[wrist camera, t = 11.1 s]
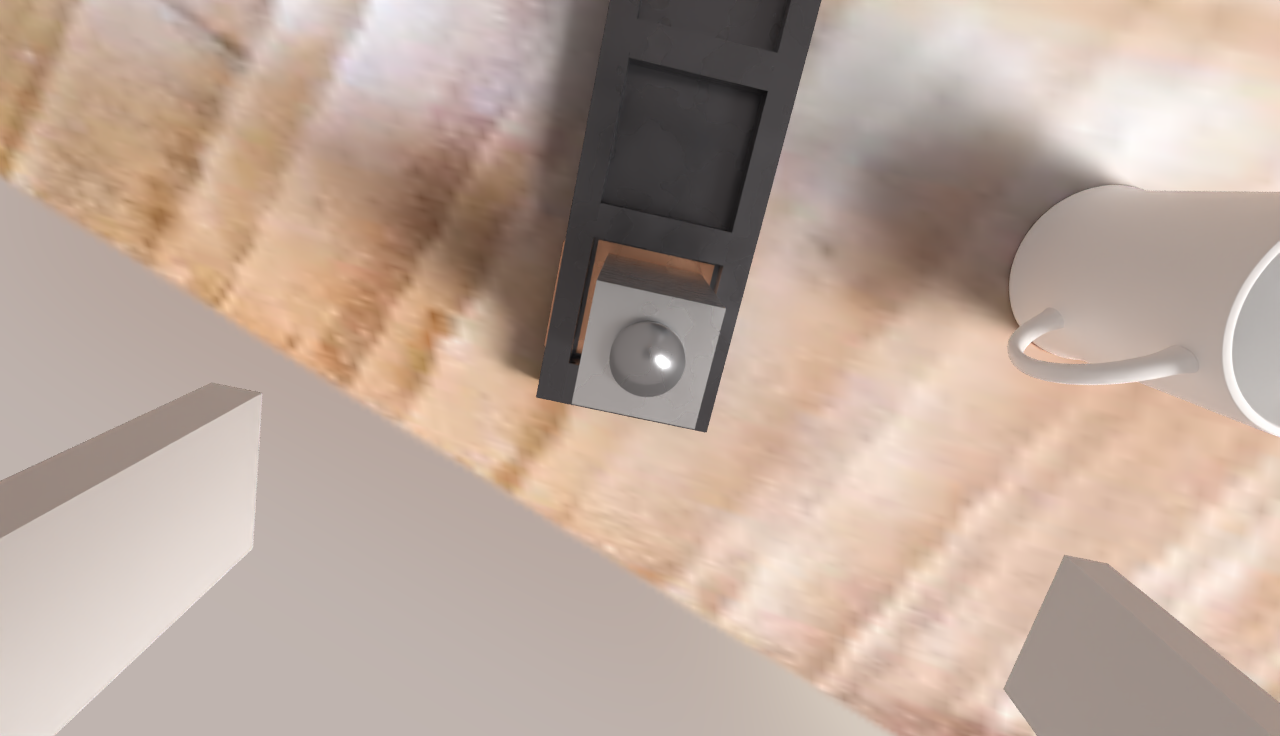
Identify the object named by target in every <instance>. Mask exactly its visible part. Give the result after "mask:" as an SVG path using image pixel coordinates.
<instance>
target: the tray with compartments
mask: <svg viewBox="0 0 1280 736" xmlns="http://www.w3.org/2000/svg"><path fill="white" fill-rule="evenodd" d="M820 3H821V0H610V3H609V9H608V14H607V19H606V25H605V30H604V35H603V41H602V46H601V52H600V57H599V62H598V68H597V73H596V78H595V84H594V89H593V95H592V100H591V105H590V111H589V116H588V121H587V127H586V132H585V137H584V143H583V148H582V154H581V159H580V164H579V170H578V175H577V180H576V186H575V191H574V197H573V202H572V207H571V213H570V218H569V223H568V229H567V234H566V239H565V240H564V241H563V246H562V252H561V257H560V262H559V268H558V273H557V279H556V284H555V289H554V295H553V300H552V306H551V311H550V316H549V322H548V327H547V333H546V338H545V343H544V346H546V347H545V352H544V358H543V363H542V368H541V374H540V379H539V385H538V390H537V395H536V397H537V398H542V399H546V400H551V401H556V402H561V403H566V404H571V405H575V404H572V399H573V394H574V389H575V385H576V380H577V375H578V370H579V365H580V360H581V355H582V350H583V345H584V340H585V335H586V330H587V325H588V321H589V316H590V311H591V306H592V301H593V296H594V291H595V286H596V281H597V278H598V276H599V274H600V271H601V269H602V267H603V265H604V262H605V260H606V258H607V255H608V253H609V254H614V255H618V256H623V257H627V258H632V259H636V260H641V261H645V262H650V263H654V264H659V265H663V266H668V267H672V268H676V269H681V270H685V271H690V272H694V273H699V274H701V275H702V276H703V277H704V279H705V280H706V282H707V283H708V284H709V286H710V287H711V288H712V290H713V291H714V293H715V294H716V295H717V297H718V298H719V300H720V301H721V302H722V304H723V305H724V307H725V308H726V311H725V314H724V318H723V322H722V326H721V330H720V334H719V337H718V341H717V345H716V349H715V353H714V357H713V360H712V364H711V368H710V372H709V376H708V380H707V383H706V387H705V391H704V395H703V399H702V403H701V406H700V410H699V414H698V418H697V422H696V426H695V429H692V430H697V431H701V432H707V428H708V425H709V421H710V417H711V413H712V410H713V406H714V402H715V398H716V395H717V391H718V387H719V383H720V380H721V376H722V372H723V368H724V365H725V361H726V357H727V353H728V349H729V346H730V342H731V338H732V334H733V331H734V327H735V323H736V319H737V316H738V312H739V308H740V304H741V301H742V297H743V293H744V289H745V286H746V282H747V278H748V274H749V270H750V267H751V263H752V259H753V255H754V252H755V248H756V244H757V240H758V237H759V233H760V229H761V225H762V222H763V218H764V214H765V210H766V207H767V203H768V199H769V195H770V192H771V188H772V184H773V180H774V176H775V173H776V169H777V165H778V161H779V158H780V154H781V150H782V146H783V143H784V139H785V135H786V131H787V128H788V124H789V120H790V116H791V113H792V109H793V105H794V101H795V97H796V94H797V90H798V86H799V82H800V79H801V75H802V71H803V67H804V64H805V60H806V56H807V52H808V49H809V45H810V41H811V37H812V34H813V30H814V26H815V22H816V18H817V15H818V11H819V7H820ZM576 406H580V405H576ZM580 407H585V406H580ZM585 408H589V407H585ZM590 409H594V408H590ZM595 410H599V409H595ZM600 411H604V410H600ZM605 412H609V411H605ZM609 413H614V412H609ZM614 414H618V413H614ZM619 415H623V414H619ZM624 416H628V415H624ZM629 417H633V416H629ZM634 418H638V417H634ZM638 419H643V418H638ZM643 420H647V419H643ZM648 421H652V420H648ZM653 422H657V421H653ZM658 423H662V422H658ZM663 424H667V423H663ZM668 425H672V424H668ZM672 426H676V425H672ZM677 427H681V426H677ZM682 428H686V427H682ZM687 429H691V428H687Z"/></svg>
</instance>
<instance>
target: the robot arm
mask: <svg viewBox="0 0 1280 736" xmlns="http://www.w3.org/2000/svg"><path fill="white" fill-rule="evenodd" d="M261 409H262V393H260V392H256V391H251V390H246V389H241V388H235V387H230V386H226V385H220V384H216V383H210V384H208V385H206V386H203V387H201V388H199V389H197V390H195V391H193V392H191V393H188V394H186V395H184V396H182V397H180V398H178V399H175V400H173V401H172V402H169V403H167V404H165V405H163V406H160V407H158V408H156V409H154V410H152V411H150V412H148V413H145V414H143V415H141V416H139V417H137V418H135V419H133V420H131V421H128V422H126V423H124V424H122V425H120V426H117V427H115V428H113V429H111V430H109V431H107V432H105V433H102V434H100V435H98V436H96V437H94V438H92V439H90V440H87V441H85V442H83V443H81V444H79V445H77V446H75V447H72V448H70V449H68V450H66V451H64V452H61V453H59V454H57V455H55V456H53V457H51V458H49V459H47V460H44V461H42V462H40V463H38V464H36V465H34V466H31V467H29V468H27V469H25V470H23V471H21V472H18V473H16V474H14V475H12V476H10V477H8V478H6V479H3V480H1V481H0V736H54V735H55V734H56V733H58V732H59V731H60V730H61V729H62V728H63V727H64V726H65V725H66V724H67V723H68V722H69V721H70V720H71V719H72V718H73V717H74V716H76V714H78V713H79V712H80V711H81V710H82V709H83V708H84V707H85V706H86V705H87V704H88V703H89V702H90V701H91V700H93V699H94V698H95V697H96V696H97V695H98V694H99V693H100V692H101V691H102V690H103V689H104V688H105V687H106V686H107V685H108V684H109V683H110V682H112V680H114V679H115V678H116V677H117V676H118V675H119V674H120V673H121V672H122V671H123V670H124V669H125V668H126V667H127V666H128V665H130V664H131V663H132V662H133V661H134V660H135V659H136V658H137V657H138V656H139V655H140V654H141V653H142V652H143V651H144V650H146V649H147V647H149V646H150V645H151V644H152V643H153V642H154V641H155V640H156V639H157V638H158V637H159V636H160V635H161V634H162V633H164V632H165V631H166V630H167V629H168V628H169V627H170V626H171V625H172V624H173V623H174V622H175V621H176V620H177V619H178V618H179V617H181V615H183V614H184V613H185V612H186V611H187V610H188V609H189V608H190V607H191V606H192V605H193V604H194V603H195V602H196V601H197V600H198V599H199V598H201V597H202V596H203V595H204V594H205V593H206V592H207V591H208V590H209V589H210V588H211V587H212V586H213V585H214V584H215V583H216V582H218V581H219V580H220V579H221V578H222V577H223V576H224V575H225V574H226V573H227V572H228V571H229V570H230V569H231V568H232V567H233V566H234V565H236V563H238V562H239V561H240V560H241V559H242V558H243V557H244V556H245V555H246V554H247V553H248V552H249V551H250V550H252V549H253V537H254V521H255V505H256V489H257V473H258V457H259V441H260V426H261ZM1004 690H1005V692H1006V693H1007V695H1008V696H1009V697H1010V699H1011V700H1012V701H1013V703H1014V704H1015V706H1016V707H1017V708H1018V710H1019V711H1020V713H1021V714H1022V715H1023V717H1024V718H1025V719H1026V721H1027V722H1028V724H1029V725H1030V726H1031V728H1032V729H1033V731H1034V732H1035V733H1036V735H1037V736H1280V703H1279V702H1278V701H1277V700H1275V699H1274V698H1273V697H1272V696H1270V695H1269V694H1268V693H1267V692H1266V691H1264V690H1263V689H1262V688H1261V687H1259V686H1258V685H1257V684H1256V683H1254V682H1253V681H1252V680H1251V679H1249V678H1248V677H1247V676H1246V675H1245V674H1243V673H1242V672H1241V671H1240V670H1238V669H1237V668H1236V667H1235V666H1233V665H1232V664H1231V663H1230V662H1229V661H1227V660H1226V659H1225V658H1224V657H1222V656H1221V655H1220V654H1219V653H1217V652H1216V651H1215V650H1214V649H1212V648H1211V647H1210V646H1209V645H1208V644H1206V643H1205V642H1204V641H1203V640H1201V639H1200V638H1199V637H1198V636H1196V635H1195V634H1194V633H1193V632H1191V631H1190V630H1189V629H1188V628H1187V627H1185V626H1184V625H1183V624H1182V623H1180V622H1179V621H1178V620H1177V619H1175V618H1174V617H1173V616H1172V615H1170V614H1169V613H1168V612H1167V611H1166V610H1164V609H1163V608H1162V607H1161V606H1159V605H1158V604H1157V603H1156V602H1154V601H1153V600H1152V599H1151V598H1149V597H1148V596H1147V595H1146V594H1145V593H1143V592H1142V591H1141V590H1140V589H1138V588H1137V587H1136V586H1135V585H1133V584H1132V583H1131V582H1130V581H1128V580H1127V579H1126V578H1125V577H1124V576H1122V575H1121V574H1120V573H1119V572H1117V571H1116V570H1115V569H1114V568H1112V567H1111V566H1110V565H1109V564H1107V563H1102V562H1097V561H1092V560H1087V559H1082V558H1077V557H1072V556H1067V555H1064V557H1063V559H1062V562H1061V564H1060V566H1059V568H1058V570H1057V573H1056V575H1055V577H1054V579H1053V581H1052V584H1051V586H1050V588H1049V590H1048V592H1047V595H1046V597H1045V599H1044V601H1043V603H1042V606H1041V608H1040V610H1039V612H1038V614H1037V617H1036V619H1035V621H1034V623H1033V625H1032V628H1031V630H1030V632H1029V634H1028V636H1027V639H1026V641H1025V643H1024V645H1023V647H1022V649H1021V652H1020V654H1019V656H1018V658H1017V660H1016V663H1015V665H1014V667H1013V669H1012V671H1011V674H1010V676H1009V678H1008V680H1007V682H1006V685H1005V687H1004Z"/></svg>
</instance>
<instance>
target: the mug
mask: <svg viewBox="0 0 1280 736" xmlns="http://www.w3.org/2000/svg"><path fill="white" fill-rule="evenodd" d="M1009 297H1010V303H1011V308H1012V311H1013V314H1014V317H1015V319H1016V321H1017V323H1018V325H1019V328H1017V329H1016V330H1015V331H1014V333H1013V334H1012V335H1011V337H1010V339H1009V341H1008V346H1007V350H1008V355H1009V358H1010V360H1011V362H1012V363H1013V365H1014V366H1015V367H1016V368H1017V369H1019V370H1020V371H1021V372H1023V373H1025V374H1027V375H1029V376H1031V377H1034V378H1037V379H1041V380H1045V381H1049V382H1055V383H1063V384H1075V385H1105V384H1120V383H1130V382H1139V383H1142V384H1144V385H1147V386H1149V387H1152V388H1154V389H1157V390H1159V391H1162V392H1165V393H1167V394H1170V395H1172V396H1175V397H1177V398H1180V399H1182V400H1185V401H1187V402H1190V403H1193V404H1195V405H1198V406H1200V407H1203V408H1205V409H1208V410H1210V411H1213V412H1215V413H1218V414H1221V415H1223V416H1226V417H1228V418H1231V419H1233V420H1236V421H1238V422H1241V423H1243V424H1246V425H1249V426H1251V427H1254V428H1256V429H1259V430H1261V431H1264V432H1267V433H1269V434H1272V435H1275V436H1278V437H1280V192H1221V191H1148V190H1144V189H1140V188H1137V187H1132V186H1125V185H1105V186H1099V187H1094V188H1090V189H1086V190H1083V191H1080V192H1078V193H1076V194H1073V195H1071V196H1069V197H1067V198H1065V199H1064V200H1062V201H1060V202H1059V203H1057V204H1056V205H1054V206H1053V207H1052V208H1051V209H1049V210H1048V211H1047V212H1046V213H1045V214H1044V215H1042V216H1041V217H1040V218H1039V219H1038V221H1037V222H1036V223H1035V224H1034V225H1033V226H1032V227H1031V229H1030V230H1029V231H1028V233H1027V234H1026V236H1025V237H1024V239H1023V241H1022V242H1021V244H1020V246H1019V248H1018V250H1017V253H1016V255H1015V258H1014V261H1013V264H1012V268H1011V273H1010V280H1009ZM1031 342H1033V343H1034V344H1036V345H1037V346H1038V347H1040V348H1042V349H1043V350H1045V351H1047V352H1049V353H1051V354H1054V355H1057V356H1060V357H1063V358H1068V359H1075V360H1082V361H1085V362H1088V363H1090V364H1062V363H1052V362H1045V361H1040V360H1036V359H1033V358H1031V357H1028V356H1026V355H1025V354H1024V353H1023V352H1024V350H1025V348H1026V347H1027V346H1028V345H1029V344H1030V343H1031Z"/></svg>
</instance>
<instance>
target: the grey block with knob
mask: <svg viewBox="0 0 1280 736" xmlns="http://www.w3.org/2000/svg"><path fill="white" fill-rule="evenodd" d="M725 311H726V308H725V307H724V305H723V304H722V302H721V301H720V300H719V298H718V297H717V295H716V294H715V293H714V291H713V290H712V288H711V287H710V286H709V284H708V283H707V282H706V280H705V279H704V277H703V276H702V275H701V274H699V273H694V272H690V271H685V270H681V269H676V268H672V267H668V266H663V265H659V264H654V263H650V262H645V261H641V260H636V259H632V258H627V257H623V256H618V255H614V254H609V253H608V255H607V258H606V260H605V262H604V265H603V267H602V269H601V271H600V274H599V276H598V278H597V281H596V286H595V291H594V296H593V301H592V306H591V311H590V316H589V321H588V325H587V330H586V335H585V340H584V345H583V350H582V355H581V360H580V365H579V370H578V375H577V380H576V385H575V389H574V394H573V399H572V404H575V405H580V406H585V407H589V408H594V409H599V410H604V411H609V412H614V413H618V414H623V415H628V416H633V417H638V418H643V419H647V420H652V421H657V422H662V423H667V424H672V425H676V426H681V427H686V428H691V429H695V426H696V422H697V418H698V414H699V410H700V406H701V403H702V399H703V395H704V391H705V387H706V383H707V380H708V376H709V372H710V368H711V364H712V360H713V357H714V353H715V349H716V345H717V341H718V337H719V334H720V330H721V326H722V322H723V318H724V314H725Z"/></svg>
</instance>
